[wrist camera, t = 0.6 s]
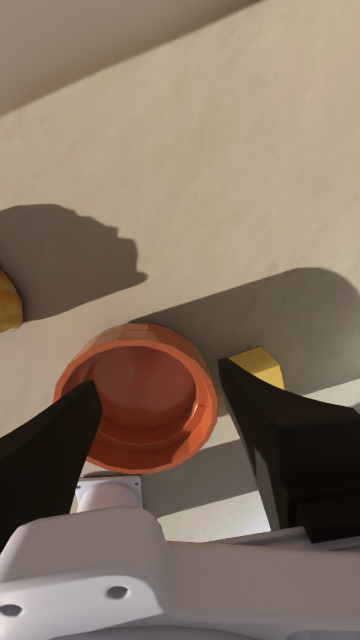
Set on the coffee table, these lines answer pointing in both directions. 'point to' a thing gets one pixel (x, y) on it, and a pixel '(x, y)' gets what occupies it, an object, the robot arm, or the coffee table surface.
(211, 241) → the coffee table surface
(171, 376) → the bowl
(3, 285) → the pastry
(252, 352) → the butter
